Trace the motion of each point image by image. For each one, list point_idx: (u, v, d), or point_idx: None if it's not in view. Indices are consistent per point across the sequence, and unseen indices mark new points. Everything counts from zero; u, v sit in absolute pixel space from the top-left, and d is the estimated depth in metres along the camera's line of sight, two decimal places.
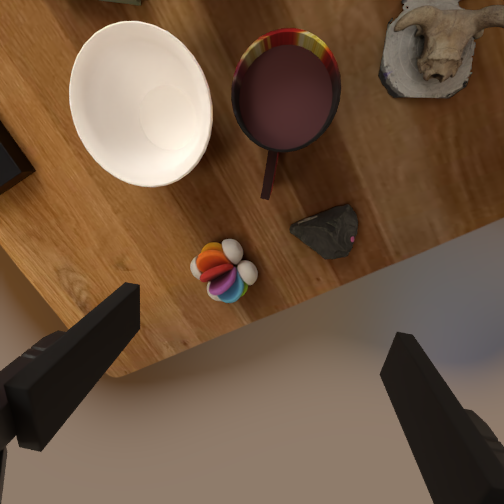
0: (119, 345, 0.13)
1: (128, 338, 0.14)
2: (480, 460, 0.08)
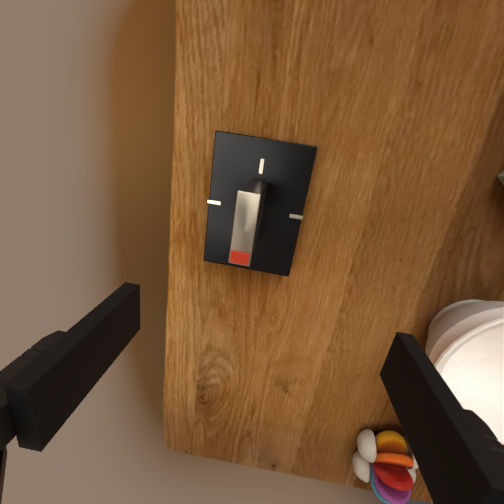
0: (119, 345, 0.13)
1: (128, 338, 0.14)
2: (480, 460, 0.08)
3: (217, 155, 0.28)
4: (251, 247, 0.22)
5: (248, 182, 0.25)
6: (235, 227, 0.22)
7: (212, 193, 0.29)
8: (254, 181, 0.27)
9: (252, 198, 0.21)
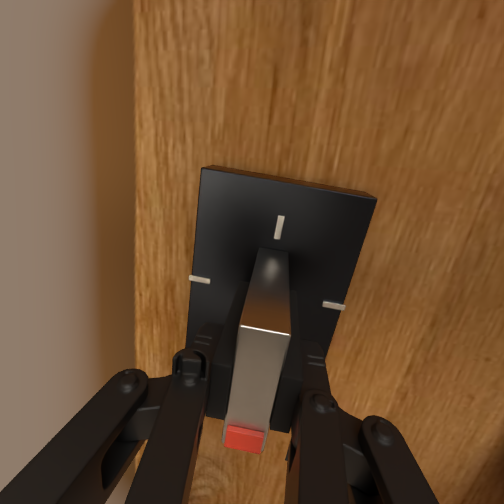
0: None
1: None
2: (286, 363, 0.10)
3: (204, 206, 0.16)
4: (268, 423, 0.11)
5: (257, 264, 0.14)
6: (235, 389, 0.10)
7: (196, 265, 0.18)
8: (266, 255, 0.15)
9: (272, 341, 0.09)
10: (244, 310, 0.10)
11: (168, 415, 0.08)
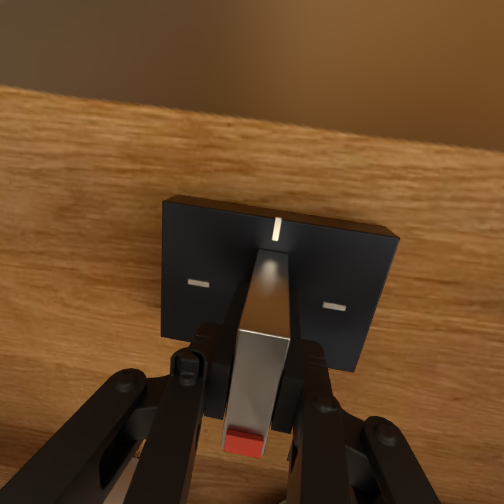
0: None
1: None
2: (288, 363, 0.10)
3: (359, 239, 0.16)
4: (267, 427, 0.11)
5: (256, 266, 0.14)
6: (234, 393, 0.10)
7: (292, 226, 0.16)
8: (266, 258, 0.15)
9: (271, 345, 0.09)
10: (243, 313, 0.10)
11: (166, 415, 0.08)
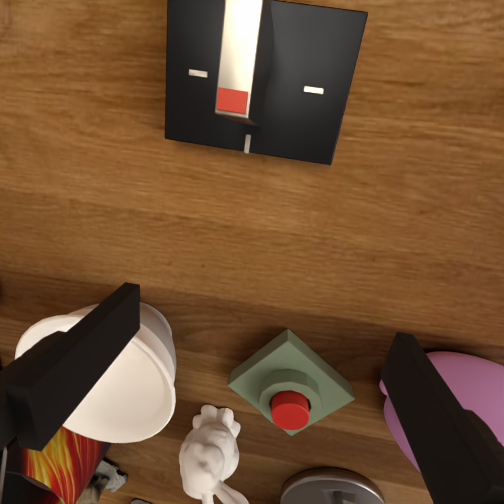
0: (119, 345, 0.13)
1: (128, 338, 0.14)
2: (480, 460, 0.08)
3: (334, 15, 0.19)
4: (251, 81, 0.14)
5: None
6: (225, 42, 0.13)
7: (278, 5, 0.19)
8: None
9: None
10: None
11: None
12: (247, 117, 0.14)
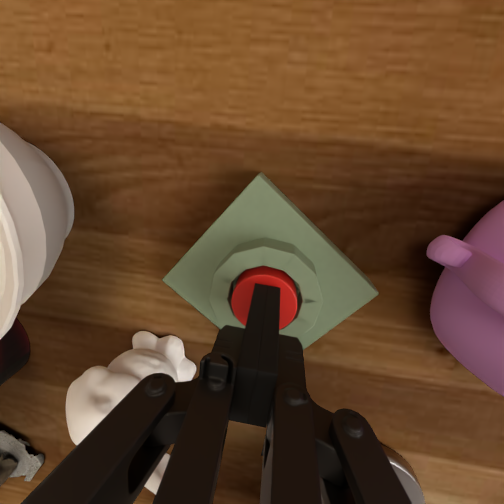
0: None
1: None
2: (262, 358, 0.10)
3: None
4: None
5: None
6: None
7: None
8: None
9: None
10: None
11: (195, 419, 0.08)
12: None
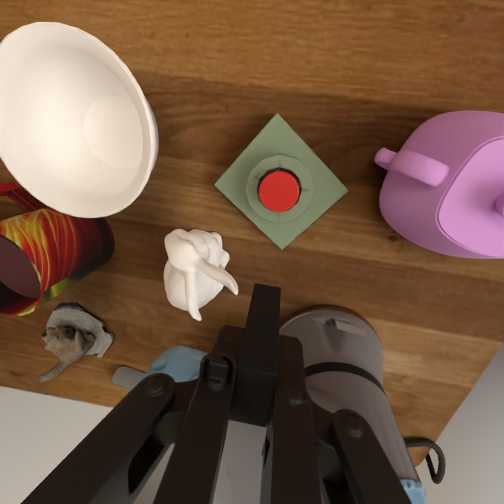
0: None
1: None
2: (263, 358, 0.10)
3: None
4: None
5: None
6: None
7: None
8: None
9: None
10: None
11: (195, 418, 0.08)
12: None
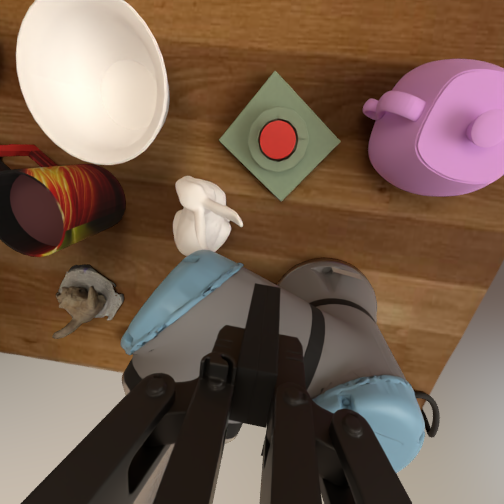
0: None
1: None
2: (263, 358, 0.10)
3: None
4: None
5: None
6: None
7: None
8: None
9: None
10: None
11: (195, 418, 0.08)
12: None
